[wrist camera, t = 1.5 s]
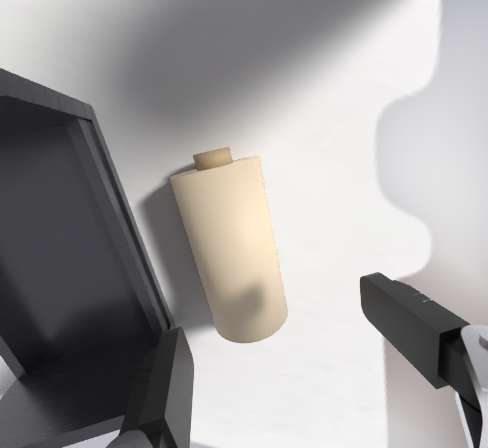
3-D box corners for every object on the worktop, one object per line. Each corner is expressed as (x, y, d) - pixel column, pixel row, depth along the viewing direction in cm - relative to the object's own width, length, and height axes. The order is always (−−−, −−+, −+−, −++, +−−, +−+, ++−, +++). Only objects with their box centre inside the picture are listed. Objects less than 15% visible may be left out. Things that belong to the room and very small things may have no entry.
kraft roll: (187, 156, 19) (145, 165, 13) (261, 140, 17) (249, 142, 12) (227, 301, 23) (208, 354, 17) (288, 297, 22) (289, 353, 16)
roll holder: (-103, 143, 15) (-409, 135, 7) (91, 105, 16) (-9, 64, 8) (41, 365, 21) (-49, 482, 13) (175, 327, 22) (160, 416, 14)
